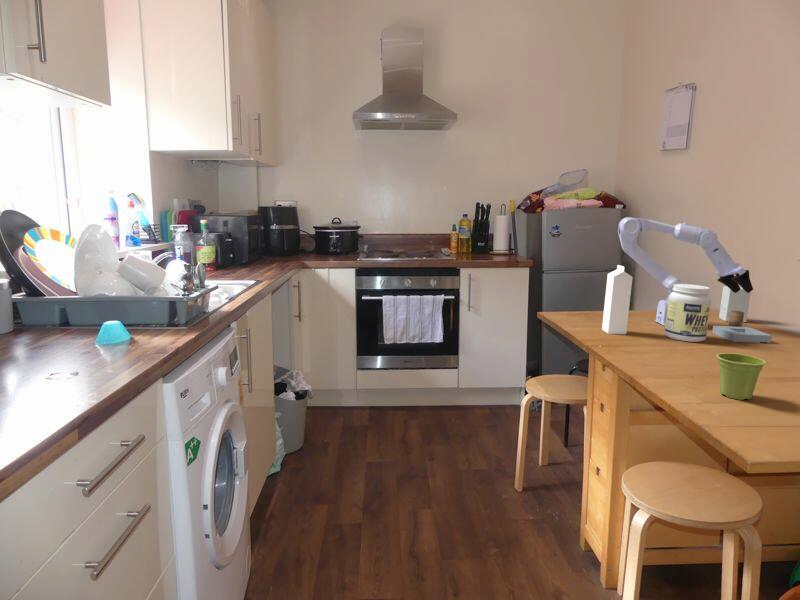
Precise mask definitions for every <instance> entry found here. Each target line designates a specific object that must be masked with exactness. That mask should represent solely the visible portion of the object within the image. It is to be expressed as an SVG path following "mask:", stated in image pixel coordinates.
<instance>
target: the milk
mask: <svg viewBox="0 0 800 600" xmlns="http://www.w3.org/2000/svg"><path fill="white" fill-rule="evenodd" d="M606 277H607V278H606V287H605V296H604V306H603V307H604V308H603V316H602V323H601V330H602V331H603V332H605V333H607V334H608V335H609V334H611V335H627V331H628V329H627V328H628V322H629V321H628V320H629V313H630V304H631V296H632V295H631V294H632V293H631V292H632V287H633V286H632V285H633V278H634V277H633V276H632V275H630V274H629V273H627V272H626V271H625V266H623V265H620V264H617V265H616V269H615V270H613V271H610V272H609V273H607V276H606Z"/></svg>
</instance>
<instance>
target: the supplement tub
mask: <svg viewBox="0 0 800 600" xmlns="http://www.w3.org/2000/svg"><path fill="white" fill-rule="evenodd" d="M710 289H711V288H710V287H708V286H704V285H697V284H689V283H686V284H674V286H673V289H672V290H673V291H674V292H673V293H671V294H670V295H669V294H668V295H669V301H668V310H667V317H666V324H665V326H664V331H663V332H664V335H665V336H666V337H668V338H669V339H672V340H676V341H682V342H688V343H689V342H690V343H691V342H692V343H699V342H703V341H705V340H706V339H707V335H708V334H707V333H708V326H709V319H710V310H711V306H712V299H711V297H710V296H709V294H710V293H711V291H710Z"/></svg>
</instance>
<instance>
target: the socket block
mask: <svg viewBox="0 0 800 600" xmlns="http://www.w3.org/2000/svg"><path fill="white" fill-rule="evenodd" d="M712 334H713V335H716V336H719V337H721V338H723V339H725V340H728V341H731V343H755V344H761V343H760V342H767V343H766V344H771V343H772V336H773V335H771V334H769V333H767V332H763V331H760V330H757V329H755V328H752V327H751V326H750V327H749V326H742V327H731V326H729V325H728V326H726V325H713V326H712Z"/></svg>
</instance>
